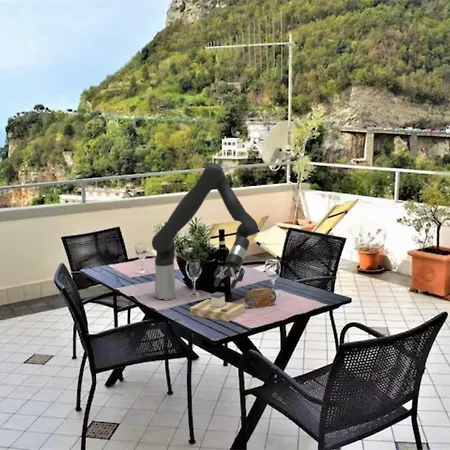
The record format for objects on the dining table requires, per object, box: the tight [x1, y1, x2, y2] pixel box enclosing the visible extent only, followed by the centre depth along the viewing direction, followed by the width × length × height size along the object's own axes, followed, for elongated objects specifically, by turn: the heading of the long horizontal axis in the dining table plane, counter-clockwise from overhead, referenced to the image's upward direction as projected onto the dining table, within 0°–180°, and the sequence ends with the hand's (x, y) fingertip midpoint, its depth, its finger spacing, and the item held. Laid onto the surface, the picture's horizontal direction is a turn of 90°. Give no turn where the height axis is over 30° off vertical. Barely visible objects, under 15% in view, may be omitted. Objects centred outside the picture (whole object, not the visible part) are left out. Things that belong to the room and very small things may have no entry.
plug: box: [210, 291, 226, 308], centre depth 252 cm, size 4×4×9 cm
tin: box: [243, 287, 277, 309], centre depth 260 cm, size 15×3×8 cm, turn 106°
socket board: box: [189, 299, 246, 322], centre depth 251 cm, size 20×14×4 cm
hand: (223, 287), depth 255 cm, fingers open, 8 cm apart
